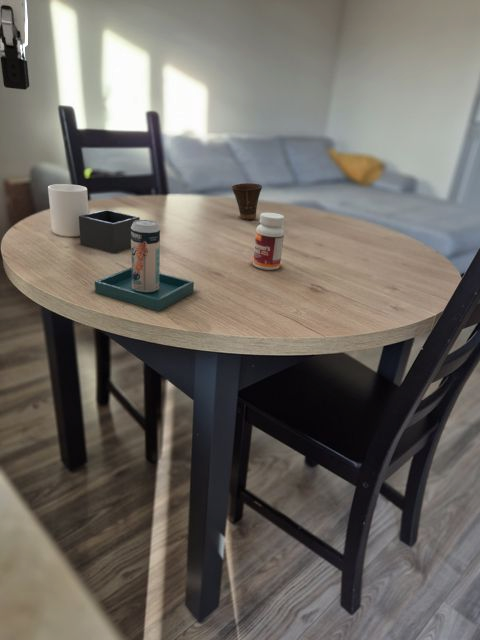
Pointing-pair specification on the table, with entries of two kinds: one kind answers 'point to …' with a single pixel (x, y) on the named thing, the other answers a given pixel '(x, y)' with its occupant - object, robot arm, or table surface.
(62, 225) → the mug
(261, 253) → the pill bottle
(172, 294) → the tray
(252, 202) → the cup
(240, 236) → the table surface
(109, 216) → the bin
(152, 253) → the beer can
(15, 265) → the table surface
